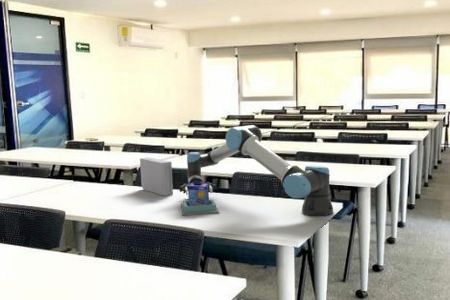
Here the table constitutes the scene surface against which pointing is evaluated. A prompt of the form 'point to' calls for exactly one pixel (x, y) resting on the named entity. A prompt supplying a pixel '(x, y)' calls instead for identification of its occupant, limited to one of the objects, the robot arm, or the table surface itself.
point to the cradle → (199, 209)
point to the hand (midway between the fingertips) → (199, 191)
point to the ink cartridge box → (198, 194)
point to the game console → (156, 176)
